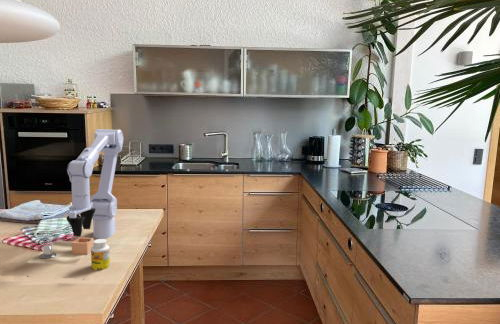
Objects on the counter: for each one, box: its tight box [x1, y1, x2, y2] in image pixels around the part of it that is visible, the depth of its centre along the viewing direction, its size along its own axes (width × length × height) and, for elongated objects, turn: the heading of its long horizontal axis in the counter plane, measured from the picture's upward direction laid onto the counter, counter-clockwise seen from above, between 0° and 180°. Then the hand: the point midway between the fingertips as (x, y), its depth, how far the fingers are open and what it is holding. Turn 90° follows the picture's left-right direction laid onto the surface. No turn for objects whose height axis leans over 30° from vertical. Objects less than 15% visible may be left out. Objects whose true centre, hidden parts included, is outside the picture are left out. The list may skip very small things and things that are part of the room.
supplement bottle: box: [90, 238, 111, 271], centre depth 126 cm, size 6×6×10 cm
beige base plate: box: [25, 240, 86, 265], centre depth 137 cm, size 20×16×2 cm
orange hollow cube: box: [72, 236, 95, 255], centre depth 138 cm, size 5×5×5 cm
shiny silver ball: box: [39, 244, 56, 259], centre depth 133 cm, size 5×5×5 cm
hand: (82, 232), depth 137 cm, fingers open, 7 cm apart
